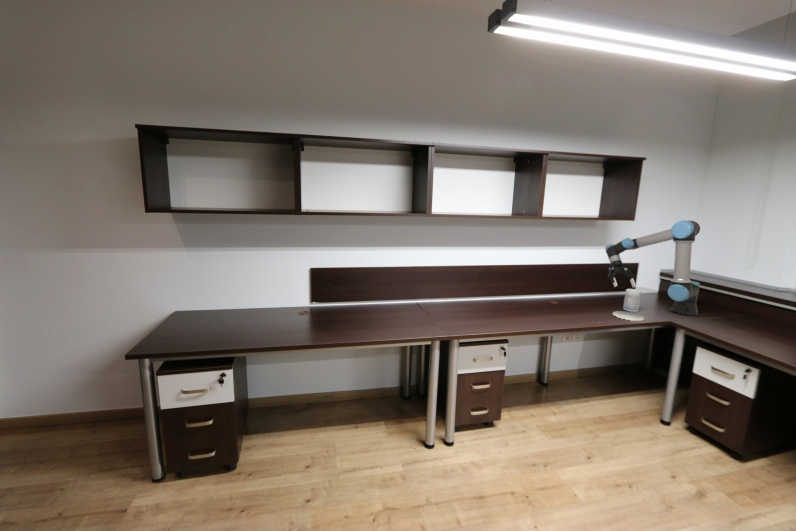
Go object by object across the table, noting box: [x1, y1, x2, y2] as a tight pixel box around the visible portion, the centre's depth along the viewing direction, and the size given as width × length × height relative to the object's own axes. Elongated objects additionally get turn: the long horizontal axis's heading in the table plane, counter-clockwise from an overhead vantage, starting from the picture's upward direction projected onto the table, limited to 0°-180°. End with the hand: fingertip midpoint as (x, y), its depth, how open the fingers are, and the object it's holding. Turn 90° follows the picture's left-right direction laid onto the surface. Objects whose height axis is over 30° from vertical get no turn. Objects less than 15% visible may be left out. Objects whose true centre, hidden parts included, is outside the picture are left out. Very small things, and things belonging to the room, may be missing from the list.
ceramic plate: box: [612, 310, 645, 322], centre depth 247 cm, size 18×18×1 cm
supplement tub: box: [622, 288, 642, 313], centre depth 262 cm, size 10×10×15 cm
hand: (625, 286), depth 270 cm, fingers open, 13 cm apart
